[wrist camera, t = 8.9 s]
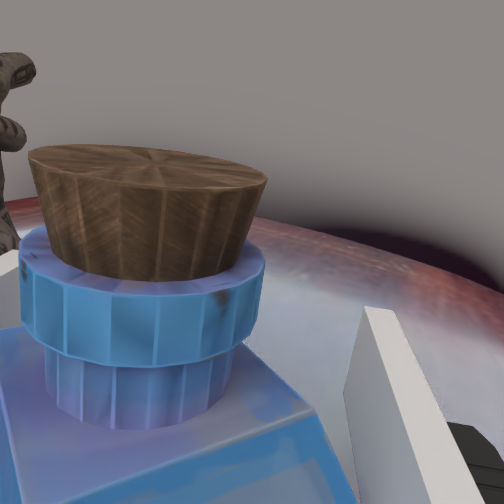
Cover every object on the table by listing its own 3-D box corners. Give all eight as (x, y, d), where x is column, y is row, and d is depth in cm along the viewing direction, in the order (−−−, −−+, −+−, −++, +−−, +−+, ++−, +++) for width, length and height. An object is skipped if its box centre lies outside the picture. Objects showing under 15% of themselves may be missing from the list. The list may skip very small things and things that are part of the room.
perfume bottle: (185, 527, 14) (229, 143, 10) (315, 765, 9) (485, 217, 6) (-50, 638, 11) (-117, 118, 7) (-34, 1106, 6) (-224, 260, 2)
